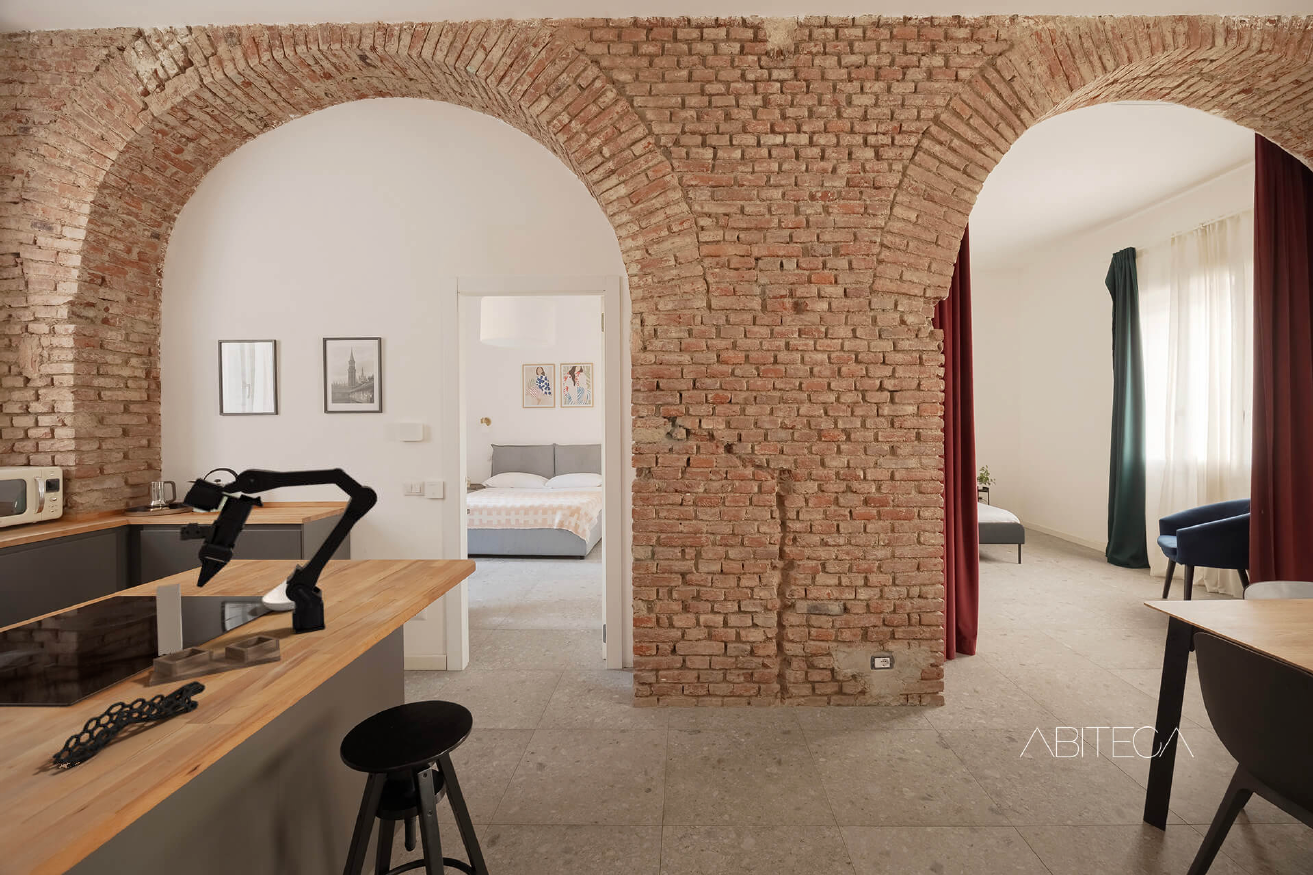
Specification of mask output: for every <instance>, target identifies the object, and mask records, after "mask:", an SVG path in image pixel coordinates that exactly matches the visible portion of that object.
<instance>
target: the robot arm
mask: <svg viewBox="0 0 1313 875" xmlns="http://www.w3.org/2000/svg"><path fill="white" fill-rule="evenodd" d="M319 485H336V487H338V488H339V489H340V490H342V491H343V492H344V493H345V494H346V495H348V496H349V499H348V501H347V504H346V506H345V508H344V510H343V512H342V514H341V516H340V517H339V518H338V520H337V521H336V523H335V524H334V525H333V527H332V529H331V530H330V531H329V532H328V534H327V535H326V537H325V538H324V539H323V541H322V542H321V543H320V545H319V546H318V548H317V549H316V550H315V551H314V553H313V555H312V556H311V557H310V559H309V560H308V561H307V562H305V563H304V564H303V565H301V564H298V563H297V564H296V565H295V567H294V569H293V571H292V573H290V574H289V575H288V576H287V577H286V579H287V580H286V579H285V580H286V584H287V586H286V591H285V593H286V596H287V598H288V599H289V600H291V601H293V602H295V604H294V609H293V610H292V611H291V626H292V630H294V632H295V634H301V633H308V632H312V631H319V630H324V629H326V623H325V603H324V600H323V590H322V589H321V588H319V587H318V586H317V583H318V580H319V579H320V577H321V574H322V571H323V569H324V568H325V567H326V565H327V564H328V563H329V561H330V560H331V558H332V557H333V556H334V554H335V553H336V551H337V550H338V549H339V547H340V546H341V545H342V543H343V541H344V540H345V539H346V537H347V536H348V534H349V533H350V531H351V530H352V529H353V528H354V527H355V524H356V523H357V522H359V521H360V519H362V518H363V517H365V516H366V515H367V514H368V513H369V511H371V509H373V508H374V507H375V505H377V504H376V503H377V502H378V495H377V493H376V491H375V489H373V488H372V487H371V486H369V485H362V483H359V482H358V481H357V480H355V479H354V478H353V477H352V476H350V475H349V474H348V473H347V472H346V471H345V470H344V469H343V468H340V467H335V468H327V469H326V468H325V469H313V470H311V469H310V470H309V469H308V470H293V471H292V470H291V471H290V470H289V471H278V470H277V471H276V470H270V469H261V468H249V469H245V470H243V471H242V472H240V473H239V474H238V475H237V476H236V478H235V480H233V481H231V482H227V483H226V484H225V485H221V484H217V483H215V482H211V481H209V480H207V479H204V478H202V477H198V478H196V479H195V481H194V483H193V485H192V486H191V487H190V489H189V490H188V491H187V493H186V494H185V497H184V498H183V501H182V505H183V506H186V507H189V508H192V509H196V510H198V511H203V512H206V513H209V514H210V513H212V511H214V510H215V511H218V510H219V509H220V507H221V505H222V503H223V501H224V499H225V498H226V499H225V502H224V504H223V505H222V508H221V510H220V512H219V514H218V516H217V518H216V519H214V520H213V522H212V523H211V524H210V523H206V524H205V523H204V524H203V523H202V524H200V523H198V522H188V524H182V525H180V526H179V527H180V530H179V541H181V542H182V541H184V542H185V541H188V540H203V543H202V545H201V547H200V549H199V552H198V553H197V558H198V559H199V561H200V562H201V567H200V570H199V575H198V579H197V583H196V587H198V588H204V586H205V585H206V584H208V582H210V580H212V579H213V578H214V577H215V576H216V575H217V574H218V573H219V572H220V571H221V570H223V569H224V568H225V567H226V566H227V565H229V563H230V562H231V560H232V558H233V556H234V553H235V552H234V551H233V550H234V548H235V546H236V543H237V541H238V539H239V538H240V535H241V533H242V532H243V530H244V526H245V524H246V522H248V519H249V517H250V514H251V512H252V511H253V508H254V506H255V507H258V508H263V507H264V505H265V504H264V503H263V501H262V496H261V495H258V496H255V497H254V496H250V495H254V494H259V493H262V492H267V491H272V490H275V489H278V488H286V487H287V488H288V487H303V486H319ZM237 493H241V494H240V495H239V496H235V495H232V494H237Z"/></svg>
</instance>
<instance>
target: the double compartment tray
mask: <svg viewBox="0 0 1313 875" xmlns="http://www.w3.org/2000/svg"><path fill="white" fill-rule="evenodd" d="M280 648H281V647H280V638H277V637H273V636H267V635H263V634H258V635H255V636H253V637H252V636H251V637H249V638H246V639H244V640H243V639H242V640H241V641H238V642H234V643H231V644H228V645H224V652H217V653H214V650H211V649H206V648H202V647H198V646H191V647H188V648H185V649H182V650H181V651H178V652H175V653H171V654H166V655H161V656H160V657H157V658H154V659H152V665H153V666H152V667H153V669H152V670H153V671H152V675H151V677H150V679H149V687H154V686H159V685H163V684H167V683H172V682H173V683H174V682H179V681H183V680H188V679H189V680H190V679H192V678H198V677H204V676H208V675H213V674H218V673H223V672H228V671H233V670H238V669H243V668H247V667H253V666H258V665H264V664H267V662H269V663H273V661H274V662H276V661H275V660H279V661H282V657H281V649H280ZM263 663H264V664H263Z"/></svg>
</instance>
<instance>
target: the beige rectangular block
mask: <svg viewBox="0 0 1313 875" xmlns="http://www.w3.org/2000/svg"><path fill="white" fill-rule="evenodd" d="M155 592H156V593H155V594H156V620H157V621H156V622H157V646H158V652H157V653H158V656H160V657H161V656H164V655H163V654H166V655H169V654H170V653H171V654H172V653H175V652H178V651H181V650H183V628H182V627H183V625H182V622H183V621H182V620H183V619H182V599H181V598H182V597H181V583H175V584H168V585H167V584H165V585H159V586H157V587H156V589H155Z"/></svg>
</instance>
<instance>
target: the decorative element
mask: <svg viewBox="0 0 1313 875" xmlns="http://www.w3.org/2000/svg"><path fill="white" fill-rule="evenodd" d="M205 690H206V685H204V684H203V683H201V682H200V681H196V680H194V681H192V682H188V683H186V684H184V685H182V686H180V687H179V688H177V689H176V690H174V691H172V692H171V693H169V694H167V695H166V696H165V695H164V694H156V695H154V697H152V698H151V699H149V700H146V699H145V698H143V697H141V698H140V697H139V698H137V699H134V700H133V701H132V702H130V703H128V704H127V703H125V701H119V702H115V703H113V704H110V706H109V707H108V708H107V709H106V710H105V711H104V712H103V713H102V714H100V715H98V716H93V717H91V718H89V719H88V720H87V721H86V722H85V724H84V725H83V728H82V730H81V731H80V732H79V733H76V734H73V735H71V736H69V738H67V740H66V741H65V743H64V745H63V747H62V749H60V751H59V752H56V753H53V755H52V757H51V758H52V759H54V760H53V761H52V765H57V764H59V765H58V766H61V765H60V764H62V765H63V764H67V763H70V764H68V765H67V767H70V766H73V765H75V764H76V763H78V762H81V763H83V762H85V761H86V760H88V758H90V757H91V756H93V755H95V754H96V753H97V752H100V751H101V750H102V749H103V748H105V747H106V746H107V745H108V744H109V743H110V742H112V740H113V739H114V738H115V737H116V736H117V735H119V733H120V732H121V731H123V730H124V729H125V728H127V727H128V726H129V725H133V724H144V723H148V722H154V721H160V720H164V719H167V718H170V717H175V716H177V715H179V714H181V713H184V712H186V713H190V712H193V711H194V710H197V709H198V706H199V703H198V700H192V697H194V696H197V695H199V694H202V693H203V692H204V691H205ZM157 699H159V700H158V701H157V702H155V701H156V700H157ZM138 703H140V705H138V706H137V707H134V706H135V705H136V704H138ZM119 706H120V707H119ZM116 707H119V709H118V710H117V711H114V712H111V711H112V710H113V709H114V708H116ZM136 714H137V715H136ZM134 715H136V716H134ZM105 717H108V720H107V721H106V722H104V723H101V721H102V720H103V718H105ZM114 717H115V718H114ZM94 721H95V724H94V726H92V728H91V729H90V725H91V724H92V723H93V722H94ZM109 725H111V726H110V727H109ZM99 728H102V729H100V730H99V731H98V732H97V733H96V734H95V731H96V730H98V729H99ZM85 734H88V738H87V739H86V740H85V741H81V739H82V737H83V736H84V735H85ZM74 739H75V740H74ZM73 740H74V742H73V745H72V746H70V745H71V742H72V741H73ZM75 749H76V750H75ZM65 752H67V756H64V757H63V754H64V753H65ZM62 757H63V758H62ZM84 760H85V761H84ZM82 761H83V762H82ZM73 767H74V766H73Z"/></svg>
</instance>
